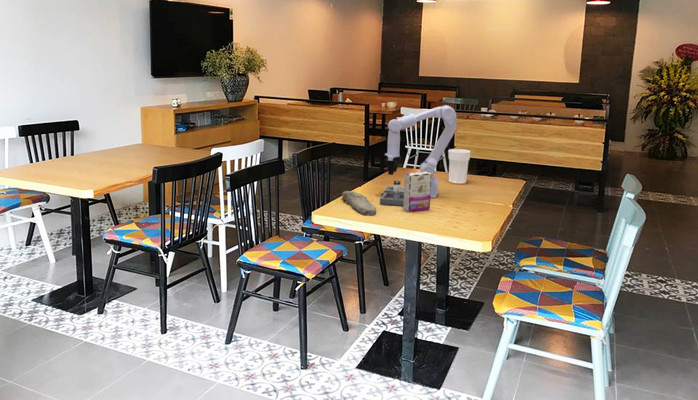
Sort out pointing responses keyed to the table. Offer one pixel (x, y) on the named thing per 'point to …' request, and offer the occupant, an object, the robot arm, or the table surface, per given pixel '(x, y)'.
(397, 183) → the pin
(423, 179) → the candy bar box
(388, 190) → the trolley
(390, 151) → the robot arm
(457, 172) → the cup
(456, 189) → the table surface
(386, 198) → the tray
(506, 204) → the table surface
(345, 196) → the elongated rock
